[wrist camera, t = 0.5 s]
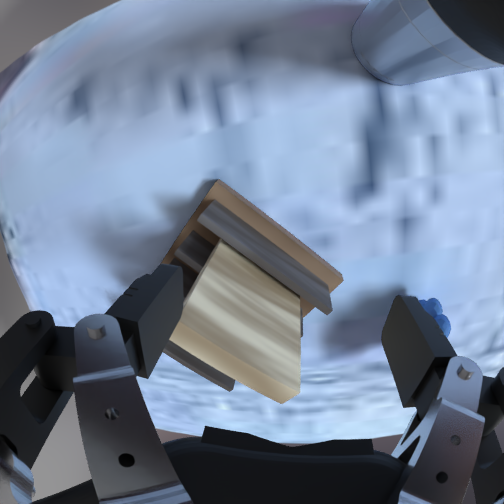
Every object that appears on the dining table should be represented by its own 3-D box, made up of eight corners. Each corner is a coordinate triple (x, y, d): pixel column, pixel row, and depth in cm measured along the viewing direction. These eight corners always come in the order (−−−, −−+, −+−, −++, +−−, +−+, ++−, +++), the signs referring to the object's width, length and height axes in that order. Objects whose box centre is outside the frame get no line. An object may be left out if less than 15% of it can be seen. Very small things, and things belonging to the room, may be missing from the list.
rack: (219, 179, 31) (201, 193, 25) (341, 274, 34) (350, 305, 28) (138, 302, 40) (117, 329, 34) (236, 367, 43) (229, 399, 37)
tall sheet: (228, 227, 31) (177, 319, 17) (299, 279, 33) (300, 392, 19) (218, 240, 32) (164, 336, 18) (288, 291, 34) (281, 404, 20)
